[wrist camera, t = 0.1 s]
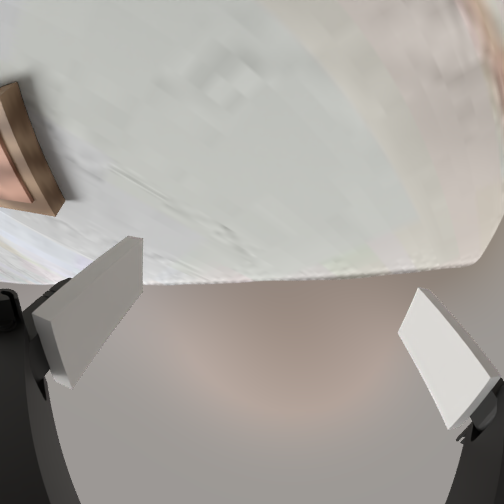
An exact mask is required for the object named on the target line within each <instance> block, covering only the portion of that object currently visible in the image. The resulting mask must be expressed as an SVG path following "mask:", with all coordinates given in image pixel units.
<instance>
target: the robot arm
mask: <svg viewBox="0 0 504 504" xmlns="http://www.w3.org/2000/svg"><path fill="white" fill-rule="evenodd" d="M142 293H143V238H137V237H132V236H127V237H126V238H124V239H123V240H122V241H120V242H119V243H118V244H116V245H115V246H114V247H112V248H111V249H110V250H108V251H107V252H106V253H104V254H103V255H102V256H100V257H99V258H98V259H96V260H95V261H94V262H92V263H91V264H90V265H89V266H87V267H86V268H85V269H83V270H82V271H81V272H80V273H78V274H77V275H76V276H75V277H74V278H67V279H65V280H63V281H60V282H58V283H57V284H55V285H54V286H53V287H52V288H51V289H50V290H49V291H47V292H45V294H43V296H41V297H40V298H39V299H37V300H36V301H35V302H34V303H33V304H31V305H30V306H29V307H28V308H27V309H25V310H24V311H23V312H22V311H21V306H20V303H19V299H18V295H17V293H16V292H15V291H14V290H11V289H0V504H81V503H80V501H79V499H78V496H77V494H76V491H75V488H74V486H73V484H72V480H71V478H70V475H69V472H68V469H67V466H66V463H65V460H64V457H63V454H62V450H61V446H60V443H59V439H58V435H57V431H56V427H55V423H54V418H53V413H52V409H51V404H50V398H49V392H48V385H47V381H46V379H45V374H46V373H47V372H48V371H49V369H50V370H51V373H52V375H53V378H54V381H56V382H58V383H60V384H62V385H64V386H66V387H68V388H70V389H73V388H74V387H75V385H76V384H77V382H78V381H79V379H80V378H81V376H82V375H83V373H84V372H85V370H86V369H87V367H88V366H89V364H90V363H91V362H92V360H93V359H94V357H95V356H96V354H97V353H98V352H99V350H100V349H101V347H102V346H103V345H104V343H105V342H106V340H107V339H108V337H109V336H110V335H111V333H112V332H113V331H114V329H115V328H116V327H117V325H118V324H119V323H120V321H121V320H122V319H123V317H124V316H125V315H126V313H127V312H128V311H129V309H130V308H131V307H132V305H133V304H134V303H135V302H136V300H137V299H138V298H139V296H140V295H141V294H142ZM398 334H399V336H400V338H401V339H402V341H403V343H404V345H405V347H406V348H407V350H408V352H409V354H410V355H411V357H412V359H413V361H414V362H415V365H416V366H417V368H418V370H419V372H420V374H421V376H422V378H423V380H424V381H425V383H426V385H427V387H428V389H429V391H430V393H431V395H432V397H433V399H434V401H435V403H436V405H437V407H438V409H439V411H440V414H441V415H442V418H443V420H444V422H445V424H446V426H447V429H448V430H450V429H454V428H458V427H461V426H462V425H463V424H464V423H465V421H466V420H467V419H468V418H469V417H470V418H471V419H472V422H471V424H470V425H469V426H468V427H467V428H466V429H465V430H464V431H463V432H462V433H461V434H460V435H459V436H458V437H457V439H456V441H459V440H460V439H461V438H462V437H465V438H464V439H463V440H462V441H461V443H462V444H464V445H463V449H462V453H461V457H460V461H459V464H458V468H457V471H456V474H455V478H454V481H453V484H452V487H451V490H450V492H449V495H448V498H447V501H446V503H445V504H504V381H503V379H502V378H501V375H500V373H499V372H498V370H497V369H496V368H495V366H494V365H493V364H492V363H491V361H490V360H489V358H488V357H487V356H486V354H484V352H483V351H482V350H481V348H480V347H479V346H478V344H477V343H476V342H475V341H474V339H473V338H472V337H471V336H470V334H469V333H468V332H467V331H466V330H465V328H463V326H462V325H461V324H460V323H459V322H458V320H457V319H456V318H455V317H454V316H453V315H452V314H451V312H450V311H449V310H448V309H447V308H446V307H445V306H444V304H443V303H441V301H440V300H439V299H438V298H437V297H436V296H435V295H434V294H433V293H432V292H431V290H430V289H426V288H420V287H418V289H417V291H416V294H415V296H414V298H413V301H412V303H411V305H410V307H409V310H408V312H407V314H406V316H405V319H404V321H403V323H402V325H401V327H400V329H399V331H398Z"/></svg>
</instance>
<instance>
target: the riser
mask: <svg viewBox="0 0 504 504" xmlns="http://www.w3.org/2000/svg"><path fill="white" fill-rule="evenodd" d="M64 202H65V199H64V197H63V195H62V193H61V191H60V189H59V187H58V185H57V183H56V181H55V179H54V177H53V175H52V173H51V171H50V168H49V166H48V164H47V162H46V160H45V157H44V155H43V153H42V150H41V148H40V146H39V143H38V141H37V138H36V136H35V133H34V131H33V128H32V125H31V123H30V120H29V117H28V114H27V111H26V108H25V105H24V102H23V99H22V96H21V93H20V90H19V86H18V83H17V82H14V83H11V84H8V85H5V86H2V87H0V207H4V208H9V209H15V210H21V211H26V212H32V213H38V214H43V215H49V216H55V217H56V215H57V213H58V212H59V210H60V208H61V207H62V205H63V204H64Z"/></svg>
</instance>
